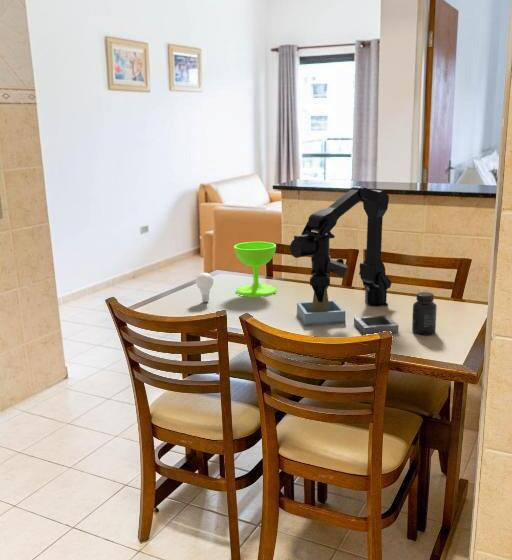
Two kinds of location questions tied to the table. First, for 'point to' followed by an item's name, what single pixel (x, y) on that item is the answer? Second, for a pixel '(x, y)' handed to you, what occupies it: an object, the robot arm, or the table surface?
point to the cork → (321, 303)
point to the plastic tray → (320, 314)
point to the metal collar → (375, 324)
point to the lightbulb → (204, 285)
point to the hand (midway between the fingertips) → (320, 300)
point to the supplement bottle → (424, 314)
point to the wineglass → (255, 266)
